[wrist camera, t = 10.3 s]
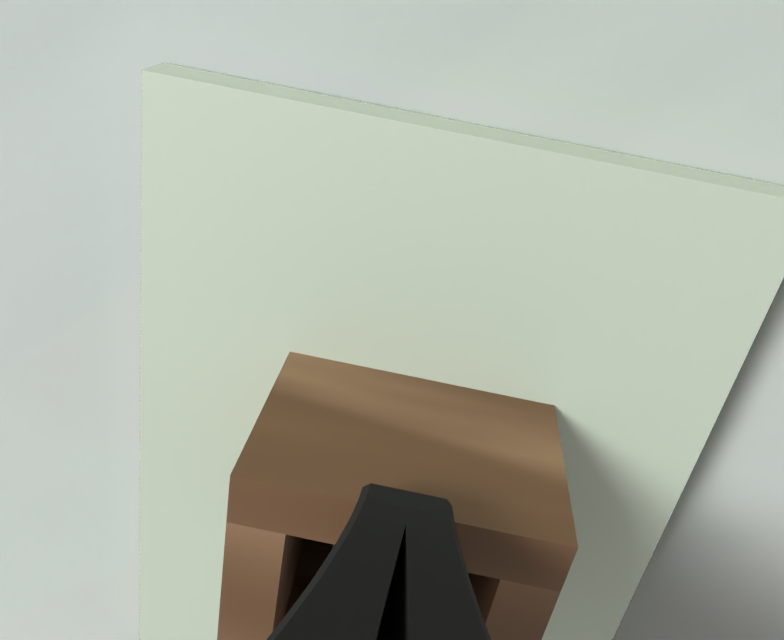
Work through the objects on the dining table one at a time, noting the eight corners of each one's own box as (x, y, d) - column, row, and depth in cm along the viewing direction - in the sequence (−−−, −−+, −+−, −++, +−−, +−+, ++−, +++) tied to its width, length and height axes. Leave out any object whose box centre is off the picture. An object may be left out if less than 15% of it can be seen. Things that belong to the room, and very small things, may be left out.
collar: (491, 593, 17) (494, 756, 14) (266, 545, 17) (212, 696, 14) (554, 405, 15) (578, 548, 11) (289, 351, 15) (230, 475, 11)
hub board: (556, 716, 21) (578, 928, 16) (153, 629, 21) (62, 815, 16) (795, 188, 13) (958, 308, 9) (164, 62, 13) (4, 116, 9)
